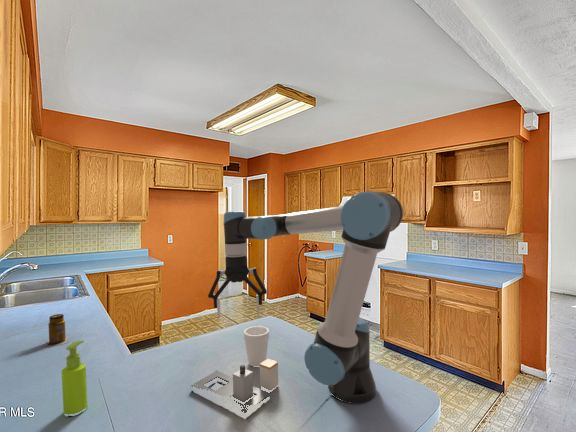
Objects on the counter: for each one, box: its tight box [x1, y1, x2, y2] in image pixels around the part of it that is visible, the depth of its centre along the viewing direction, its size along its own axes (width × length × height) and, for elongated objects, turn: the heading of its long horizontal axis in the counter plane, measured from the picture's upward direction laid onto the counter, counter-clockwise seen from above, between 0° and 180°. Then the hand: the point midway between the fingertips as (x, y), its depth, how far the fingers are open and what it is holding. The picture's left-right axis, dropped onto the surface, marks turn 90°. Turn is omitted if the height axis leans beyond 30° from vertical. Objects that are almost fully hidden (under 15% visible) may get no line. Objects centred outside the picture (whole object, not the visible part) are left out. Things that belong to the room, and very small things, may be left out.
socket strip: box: [190, 370, 271, 413], centre depth 99 cm, size 24×11×2 cm, turn 54°
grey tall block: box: [232, 364, 254, 402], centre depth 95 cm, size 4×4×11 cm
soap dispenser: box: [61, 340, 88, 415], centre depth 94 cm, size 6×7×20 cm
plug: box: [259, 358, 279, 390], centre depth 102 cm, size 4×4×9 cm
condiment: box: [46, 313, 69, 348], centre depth 142 cm, size 7×8×12 cm
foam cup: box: [243, 325, 270, 366], centre depth 118 cm, size 10×9×13 cm
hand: (238, 315), depth 110 cm, fingers open, 13 cm apart
